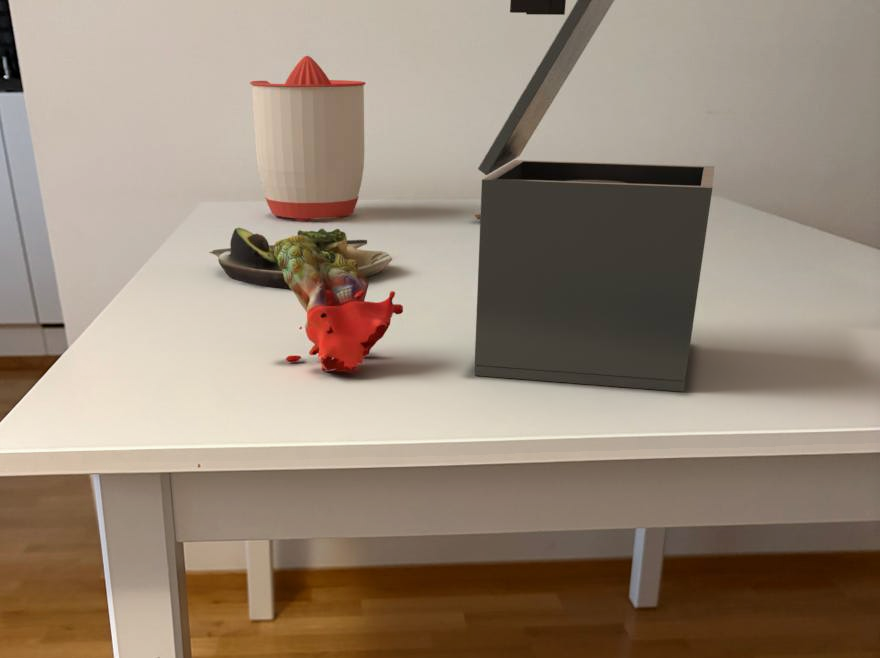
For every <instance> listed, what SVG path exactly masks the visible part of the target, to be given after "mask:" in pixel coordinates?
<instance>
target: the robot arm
mask: <svg viewBox="0 0 880 658" xmlns="http://www.w3.org/2000/svg"><path fill="white" fill-rule="evenodd" d="M566 2H567V0H510V3H509V4H510V5H509V6H510V7H509V13H512V14H513V13H514V14H515V13H516V14H517V13H518V14H519V13H520V14H521V13H522V14H525V15H533V16H535V15H540V16H542V15H547V16H549V15H550V16H551V15H552V16H553V15H555V16H557V15H558V16H559V15H560V16H561V15H563V16H565V15H566V4H567V3H566Z"/></svg>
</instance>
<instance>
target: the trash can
mask: <svg viewBox="0 0 880 658" xmlns="http://www.w3.org/2000/svg"><path fill="white" fill-rule="evenodd" d="M714 175H715V166H714V165H713V166H712V165H686V164H685V165H682V164H681V165H680V164H652V163H651V164H650V163H622V162H621V163H618V162H587V161H586V162H585V161H581V162H580V161H555V160H554V161H553V160H525V159H522V160H521V159H514V160H512V161H510V162H509V163H507V164H505V165H503V166H502V167H500V168H498V169H497V170H495V171H493V172H492V173H490V174H488V175H486V177H484V178H483V179H481V193H480V194H481V195H480V214H481V215H480V214H479V215H480V219H479V239H478V240H479V243H478V266H477V267H478V268H477V269H478V271H477V291H476V293H477V294H476V320H475V340H474V341H475V342H474V343H475V345H474V372H473V375H474V376H476V377H477V376H478V377H488V378H489V377H490V378H502V379H503V378H504V379H513V380H514V379H516V380H527V381H528V380H529V381H540V382H541V381H542V382H553V383H565V384H578V385H579V384H580V385H591V386H602V387H603V386H604V387H618V388H631V389H632V388H633V389H641V390H656V391H668V392H679V393H680V392H682V393H683V392H684V391H685V384H686V377H687V369H688V363H689V356H690V355H689V354H690V349H691V342H692V335H693V328H694V321H695V313H696V307H697V300H698V292H699V287H700V286H699V285H700V279H701V273H702V272H701V271H702V265H703V258H704V252H705V251H704V250H705V244H706V236H707V228H708V222H709V221H708V220H709V215H710V209H711V201H712V195H713V187H714V186H713V185H714ZM570 180H607V181H618V182H624V183H602V182H574V181H570Z"/></svg>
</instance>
